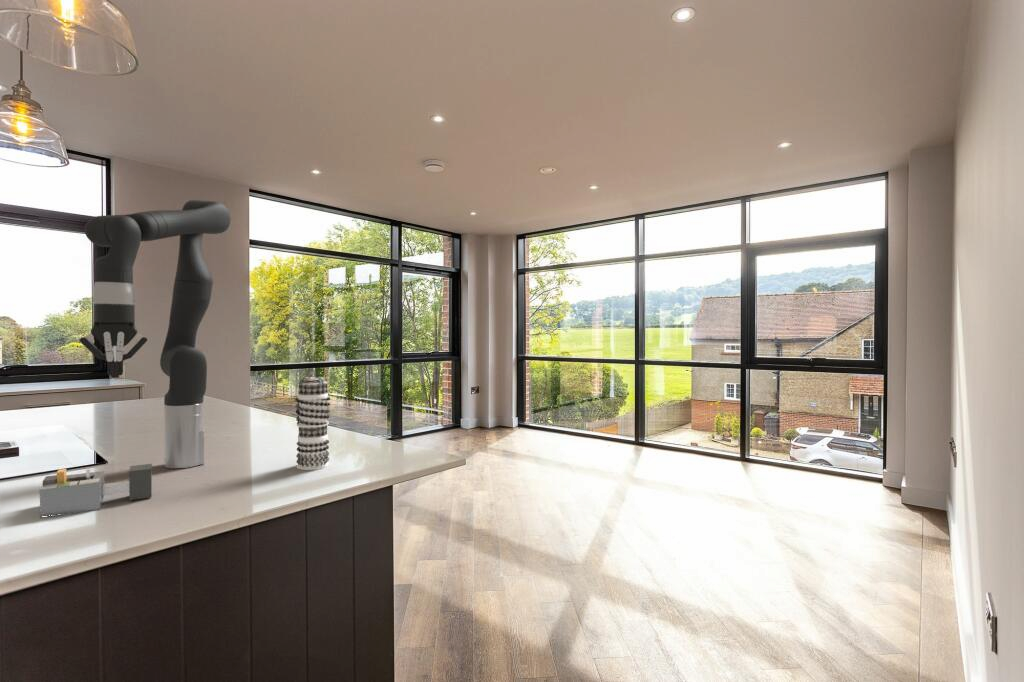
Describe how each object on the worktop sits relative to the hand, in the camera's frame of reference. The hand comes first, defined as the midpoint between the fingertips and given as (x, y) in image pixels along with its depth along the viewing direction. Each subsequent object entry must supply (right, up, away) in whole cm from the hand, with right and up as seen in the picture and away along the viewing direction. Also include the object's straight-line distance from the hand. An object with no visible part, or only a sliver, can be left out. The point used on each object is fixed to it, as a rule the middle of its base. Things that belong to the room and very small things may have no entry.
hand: (115, 377), depth 119 cm
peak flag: (-4, -26, -10) cm, 28 cm away
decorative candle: (+36, -27, +26) cm, 52 cm away
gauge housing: (-2, -27, -8) cm, 29 cm away
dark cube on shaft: (+4, -27, -4) cm, 27 cm away
